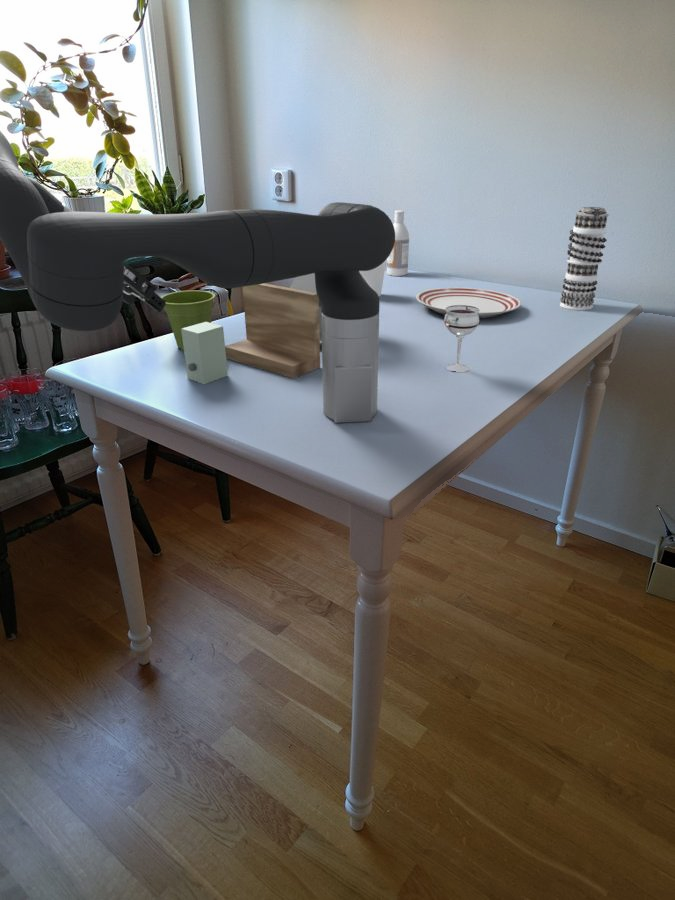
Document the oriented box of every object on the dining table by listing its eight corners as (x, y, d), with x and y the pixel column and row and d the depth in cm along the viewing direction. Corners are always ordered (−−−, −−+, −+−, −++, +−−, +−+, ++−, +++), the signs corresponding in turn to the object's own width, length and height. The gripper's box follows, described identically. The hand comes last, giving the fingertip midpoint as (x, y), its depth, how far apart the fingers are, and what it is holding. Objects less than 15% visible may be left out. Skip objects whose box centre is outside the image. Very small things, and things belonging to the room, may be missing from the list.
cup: (349, 293, 181) (349, 251, 175) (378, 291, 183) (379, 250, 178) (359, 300, 173) (360, 257, 168) (389, 298, 175) (390, 255, 170)
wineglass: (471, 362, 126) (477, 304, 121) (477, 374, 120) (483, 313, 115) (438, 362, 126) (442, 304, 121) (442, 374, 120) (447, 314, 115)
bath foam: (382, 273, 206) (384, 210, 197) (400, 271, 209) (402, 209, 199) (393, 277, 200) (395, 212, 191) (411, 275, 203) (414, 211, 194)
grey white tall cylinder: (554, 301, 170) (569, 205, 158) (588, 302, 169) (606, 205, 158) (562, 310, 162) (578, 209, 150) (598, 310, 161) (617, 209, 150)
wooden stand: (293, 378, 119) (289, 301, 112) (225, 357, 130) (218, 286, 123) (320, 367, 124) (318, 293, 117) (252, 348, 136) (247, 280, 129)
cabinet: (200, 385, 116) (194, 334, 111) (184, 379, 119) (177, 329, 114) (227, 375, 121) (223, 326, 116) (211, 370, 124) (206, 321, 119)
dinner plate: (506, 297, 176) (507, 285, 174) (531, 323, 152) (533, 310, 150) (411, 297, 177) (412, 286, 175) (421, 324, 152) (421, 311, 151)
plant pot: (164, 341, 141) (157, 292, 135) (215, 336, 144) (210, 288, 139) (169, 357, 131) (161, 305, 125) (224, 351, 134) (219, 300, 129)
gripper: (35, 257, 96) (113, 315, 109) (84, 268, 87) (161, 329, 101) (60, 218, 97) (134, 280, 110) (110, 225, 89) (183, 291, 102)
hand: (147, 303), depth 105 cm, fingers open, 8 cm apart
